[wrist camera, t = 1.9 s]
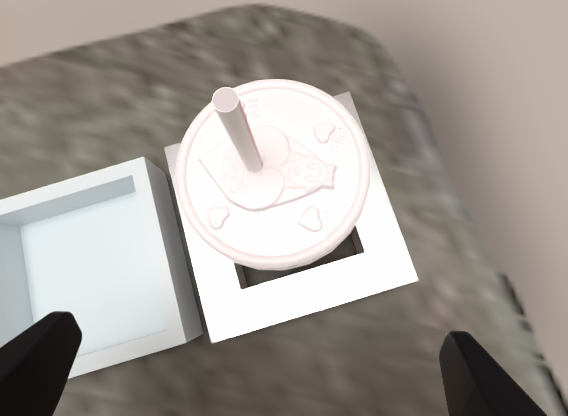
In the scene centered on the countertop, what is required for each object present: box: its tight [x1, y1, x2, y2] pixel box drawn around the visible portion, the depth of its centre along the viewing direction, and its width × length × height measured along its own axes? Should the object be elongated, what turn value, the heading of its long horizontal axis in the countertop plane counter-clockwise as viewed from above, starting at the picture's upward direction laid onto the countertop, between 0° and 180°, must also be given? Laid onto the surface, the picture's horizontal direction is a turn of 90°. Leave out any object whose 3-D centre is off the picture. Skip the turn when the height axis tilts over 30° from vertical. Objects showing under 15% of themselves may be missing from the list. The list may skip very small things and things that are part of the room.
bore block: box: [164, 92, 418, 343], centre depth 20 cm, size 10×10×2 cm
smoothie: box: [175, 79, 371, 270], centre depth 14 cm, size 6×6×14 cm
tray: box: [0, 157, 204, 379], centre depth 20 cm, size 10×10×3 cm
